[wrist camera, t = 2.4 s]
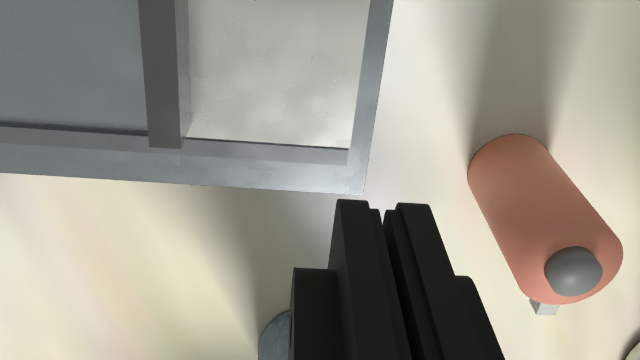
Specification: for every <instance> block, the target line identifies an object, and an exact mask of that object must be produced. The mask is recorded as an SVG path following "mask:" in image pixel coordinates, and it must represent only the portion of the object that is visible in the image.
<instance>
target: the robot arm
mask: <svg viewBox="0 0 640 360" xmlns="http://www.w3.org/2000/svg"><path fill="white" fill-rule="evenodd" d="M288 360H505V358H504V356H503V353H502V351H501V348H500V346H499V343H498V341H497V338H496V336H495V333H494V331H493V328H492V326H491V323H490V321H489V318H488V316H487V313H486V311H485V308H484V306H483V303H482V301H481V298H480V296H479V294H478V291H477V289H476V286H475V284H474V282H473V280H472V279H471V278H470V277H468V276H455V274H454V271H453V269H452V266H451V263H450V260H449V258H448V255H447V252H446V249H445V247H444V244H443V241H442V239H441V236H440V233H439V230H438V228H437V225H436V222H435V219H434V217H433V214H432V211H431V208H430V206H429V205H428V204H416V203H398V204H397V205H396V208H395V210H386V212H385V215H384V220H383V225H382V221H381V217H380V212H379V210H378V209H370V208H369V204H368V201H365V200H348V199H338V200H337V203H336V209H335V217H334V225H333V232H332V240H331V248H330V255H329V263H328V269H310V268H294V270H293V278H292V289H291V301H290V316H289V337H288ZM625 360H640V342H639V343H638V344H637V345H636V346H635V347H634V348H633V349H632V350H631V352H630V353H629V355H628V356H627V358H626V359H625Z"/></svg>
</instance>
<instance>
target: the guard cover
mask: <svg viewBox="0 0 640 360" xmlns="http://www.w3.org/2000/svg"><path fill="white" fill-rule="evenodd" d="M369 6H370V0H138V9H139V22H140V35H141V48H142V60H143V73H144V86H145V99H146V112H147V125H148V138H149V147H154V148H169V149H181V148H182V146H183V143H184V141H185V138H186V137H195V138H209V139H224V140H238V141H253V142H267V143H282V144H296V145H311V146H325V147H340V148H350V145H351V138H352V130H353V123H354V116H355V108H356V101H357V94H358V86H359V79H360V72H361V64H362V57H363V50H364V43H365V35H366V28H367V21H368V13H369Z"/></svg>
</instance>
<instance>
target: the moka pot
mask: <svg viewBox="0 0 640 360" xmlns="http://www.w3.org/2000/svg"><path fill="white" fill-rule="evenodd" d="M289 316H290V311H286V312H284V313H282V314H280V315H279V316H277V317H276V318H275V319H274V320H273V321H271V322H270V323H269V325H268V326H267V327H266V328H265V330H264V332H263V333H262V335H261V337H260V338H259V342H258V360H288V337H289Z"/></svg>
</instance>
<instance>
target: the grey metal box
mask: <svg viewBox="0 0 640 360" xmlns="http://www.w3.org/2000/svg"><path fill="white" fill-rule="evenodd" d="M393 1H394V0H370V6H369V13H368V21H367V28H366V35H365V43H364V50H363V57H362V64H361V72H360V79H359V86H358V94H357V101H356V108H355V116H354V123H353V130H352V138H351V145H350V148H340V147H325V146H311V145H296V144H282V143H267V142H253V141H238V140H224V139H209V138H195V137H186V138H185V141H184V143H183V146H182V148H181V149H169V148H154V147H149V138H148V125H147V112H146V99H145V86H144V73H143V60H142V48H141V35H140V22H139V9H138V0H0V173H15V174H31V175H47V176H63V177H79V178H95V179H111V180H127V181H143V182H158V183H174V184H190V185H206V186H222V187H238V188H254V189H270V190H286V191H302V192H318V193H334V194H350V195H363V191H364V184H365V178H366V172H367V165H368V159H369V153H370V146H371V140H372V134H373V128H374V121H375V115H376V109H377V102H378V96H379V90H380V83H381V77H382V71H383V64H384V58H385V52H386V46H387V39H388V33H389V27H390V20H391V14H392V8H393Z"/></svg>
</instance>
